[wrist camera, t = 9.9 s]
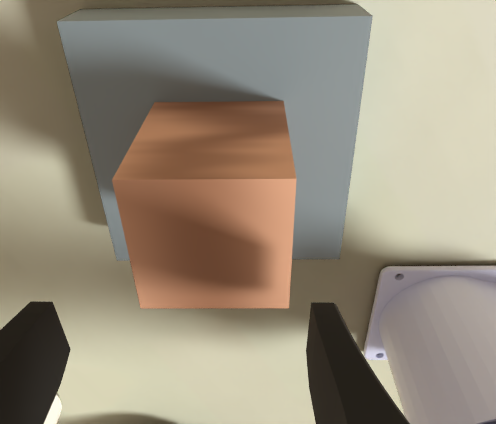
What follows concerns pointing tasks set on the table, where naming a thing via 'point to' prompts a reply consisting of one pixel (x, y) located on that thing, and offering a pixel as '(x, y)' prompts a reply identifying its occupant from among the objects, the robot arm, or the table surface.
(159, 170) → the block
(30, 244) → the table surface
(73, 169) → the table surface
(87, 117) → the base
